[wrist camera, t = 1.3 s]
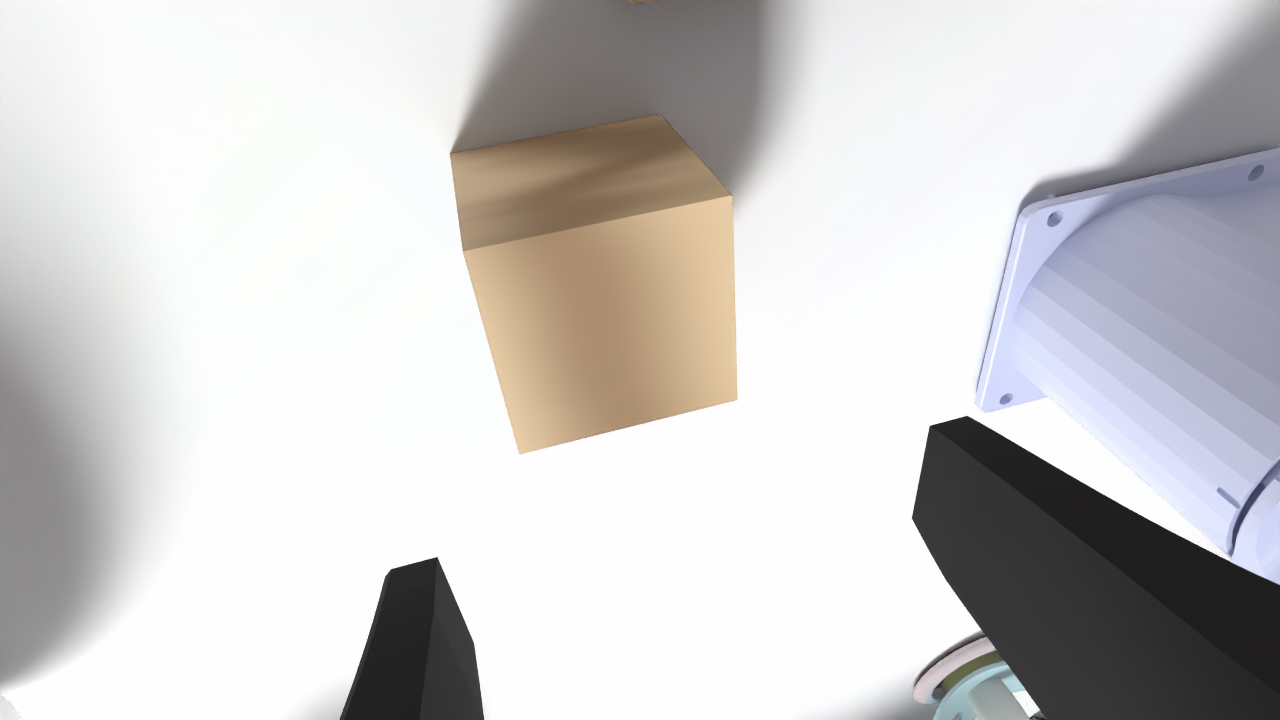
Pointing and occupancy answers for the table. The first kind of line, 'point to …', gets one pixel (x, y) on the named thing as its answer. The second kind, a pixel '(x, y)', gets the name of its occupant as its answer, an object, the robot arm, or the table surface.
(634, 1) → the walnut base
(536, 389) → the oak cube
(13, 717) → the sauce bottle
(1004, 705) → the pacifier
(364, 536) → the table surface
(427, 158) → the table surface
